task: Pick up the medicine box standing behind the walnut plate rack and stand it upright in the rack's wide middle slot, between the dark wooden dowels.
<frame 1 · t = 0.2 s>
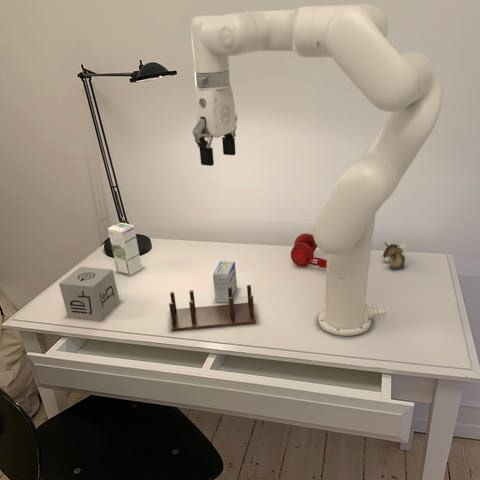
hand: (218, 159, 122), 37 cm above the table, tool pointing down, fingers open, 9 cm apart
icon cube: (94, 310, 139), on the table
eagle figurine: (392, 263, 152), on the table
headphones: (325, 262, 156), on the table
plate rack: (213, 317, 132), on the table
syrup box: (129, 271, 159), on the table
medicine box: (226, 296, 141), on the table
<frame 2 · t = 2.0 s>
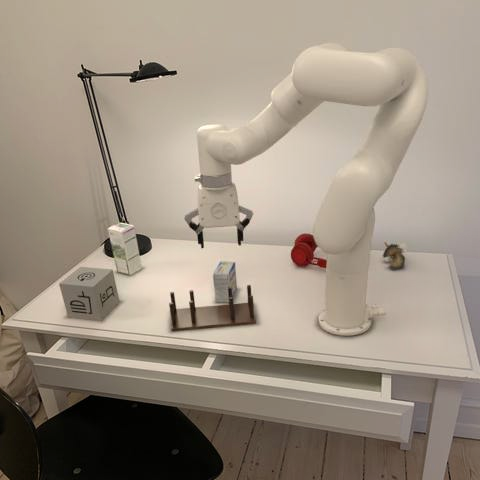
hand: (220, 244, 134), 15 cm above the table, tool pointing down, fingers open, 9 cm apart
nothing on the table moved.
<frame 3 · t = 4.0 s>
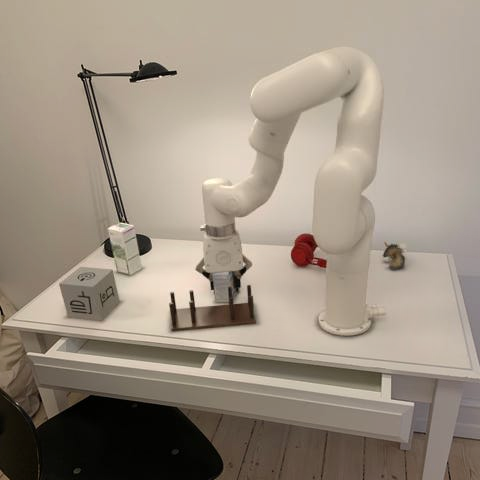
hand: (226, 290, 140), 2 cm above the table, tool pointing down, fingers closed on medicine box, 5 cm apart
medicine box: (226, 296, 141), on the table, touching gripper
everything else where it was.
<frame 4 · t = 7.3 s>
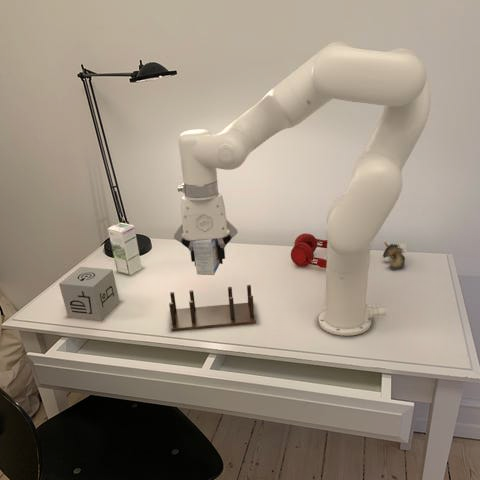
hand: (208, 262, 124), 15 cm above the table, tool pointing down, fingers closed on medicine box, 5 cm apart
medicine box: (209, 269, 125), point 13 cm above the table, touching gripper
everything else where it was.
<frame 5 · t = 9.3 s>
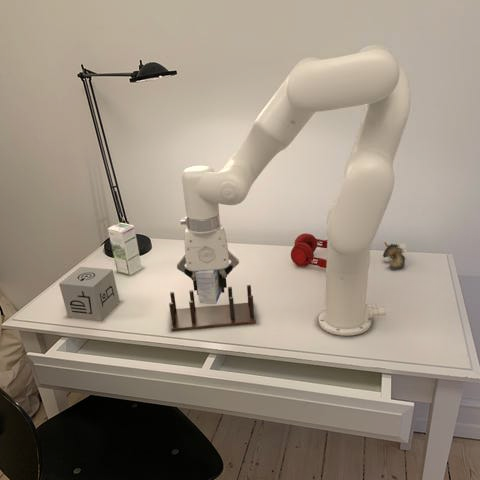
hand: (210, 290, 128), 8 cm above the table, tool pointing down, fingers closed on medicine box, 5 cm apart
medicine box: (211, 297, 129), point 6 cm above the table, touching gripper
everything else where it was.
when the fingers open (4 cm above the table, at t = 10.9 s): medicine box drops 1 cm, resting on plate rack.
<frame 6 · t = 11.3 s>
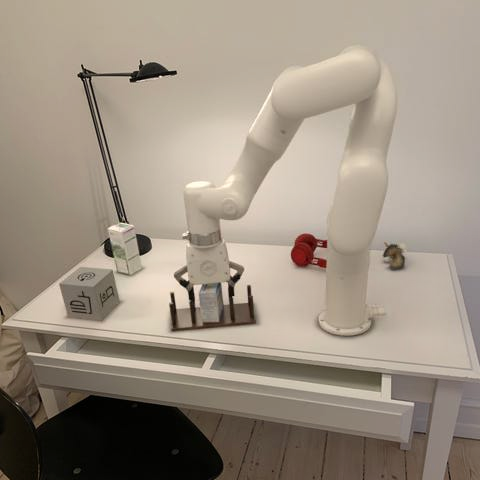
hand: (212, 300, 129), 5 cm above the table, tool pointing down, fingers open, 9 cm apart
medicine box: (213, 315, 131), point 1 cm above the table, touching plate rack
everything else where it was.
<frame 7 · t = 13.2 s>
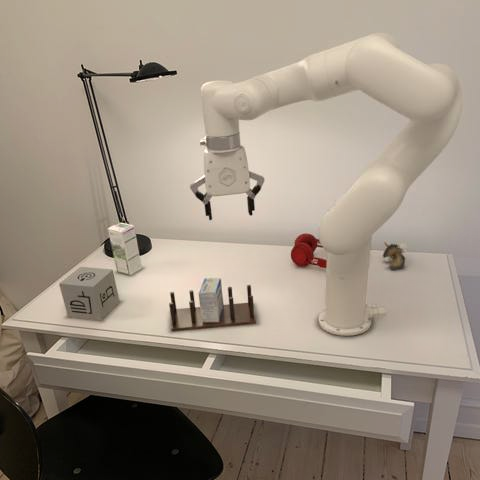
hand: (230, 216, 123), 25 cm above the table, tool pointing down, fingers open, 9 cm apart
nothing on the table moved.
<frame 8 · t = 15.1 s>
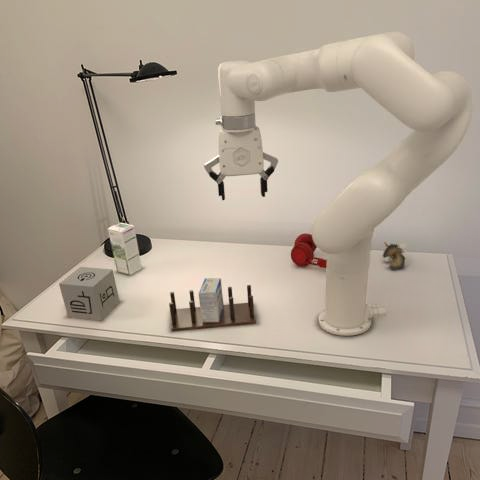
hand: (243, 196, 124), 28 cm above the table, tool pointing down, fingers open, 9 cm apart
nothing on the table moved.
at the end: medicine box 0.0 cm off-centre on the plate rack, point 0.6 cm above the plate rack's base; medicine box tilted 0°; the gripper is holding nothing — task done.
